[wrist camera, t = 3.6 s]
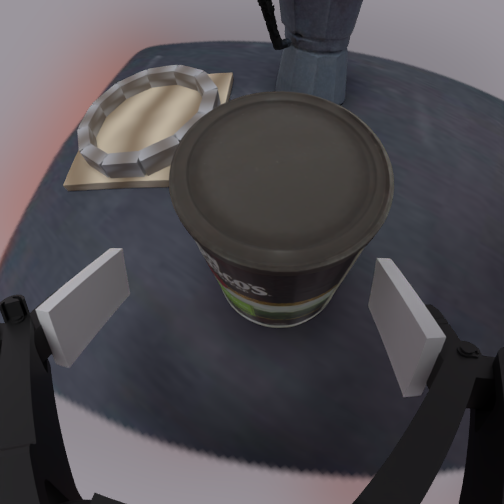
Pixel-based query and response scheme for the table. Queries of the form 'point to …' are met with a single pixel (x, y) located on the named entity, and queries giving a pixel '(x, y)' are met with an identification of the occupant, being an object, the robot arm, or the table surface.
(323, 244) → the coffee can
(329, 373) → the table surface
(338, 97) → the moka pot
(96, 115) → the ring board
